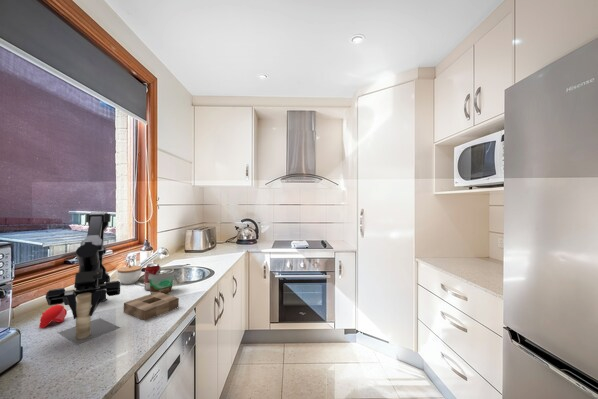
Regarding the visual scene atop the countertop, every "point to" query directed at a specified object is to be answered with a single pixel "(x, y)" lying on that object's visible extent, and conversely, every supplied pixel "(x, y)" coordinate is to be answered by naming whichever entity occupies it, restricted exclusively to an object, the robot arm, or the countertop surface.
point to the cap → (52, 315)
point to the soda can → (152, 270)
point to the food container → (161, 282)
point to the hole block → (151, 305)
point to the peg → (83, 316)
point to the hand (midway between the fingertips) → (82, 317)
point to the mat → (96, 330)
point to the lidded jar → (129, 274)
